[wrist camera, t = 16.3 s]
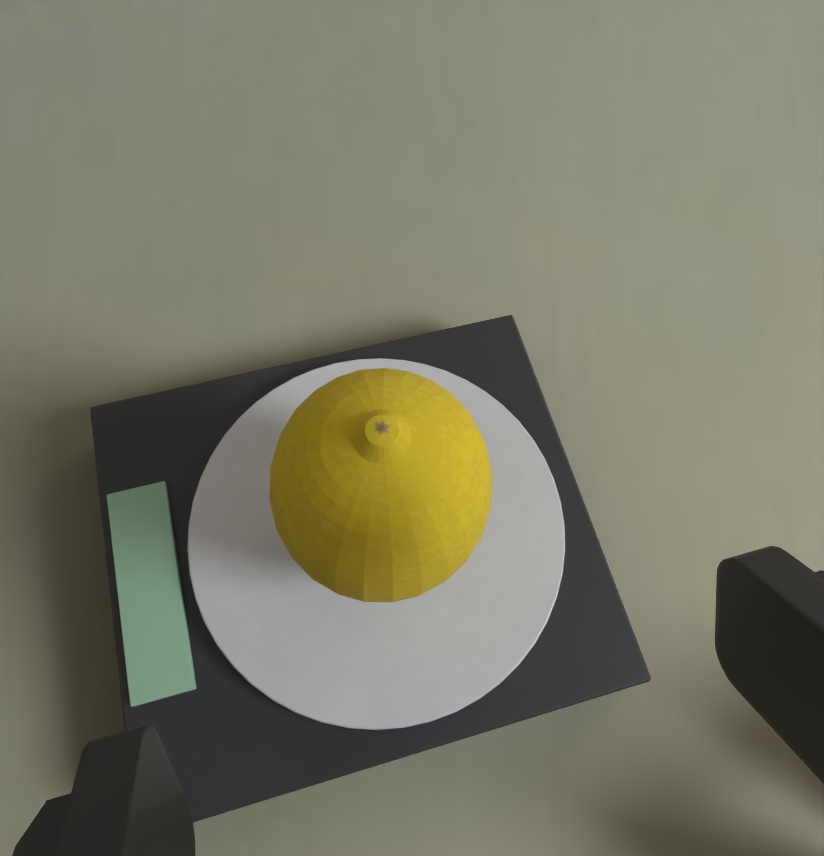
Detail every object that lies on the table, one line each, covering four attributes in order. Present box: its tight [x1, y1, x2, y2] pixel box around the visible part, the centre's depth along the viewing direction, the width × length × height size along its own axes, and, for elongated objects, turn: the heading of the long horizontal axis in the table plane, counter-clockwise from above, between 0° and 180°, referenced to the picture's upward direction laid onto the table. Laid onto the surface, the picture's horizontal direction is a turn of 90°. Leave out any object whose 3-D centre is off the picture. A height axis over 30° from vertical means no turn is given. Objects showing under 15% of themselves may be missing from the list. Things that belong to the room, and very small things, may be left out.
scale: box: [90, 315, 651, 822], centre depth 22 cm, size 15×13×3 cm
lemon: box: [269, 368, 492, 603], centre depth 17 cm, size 6×6×8 cm
